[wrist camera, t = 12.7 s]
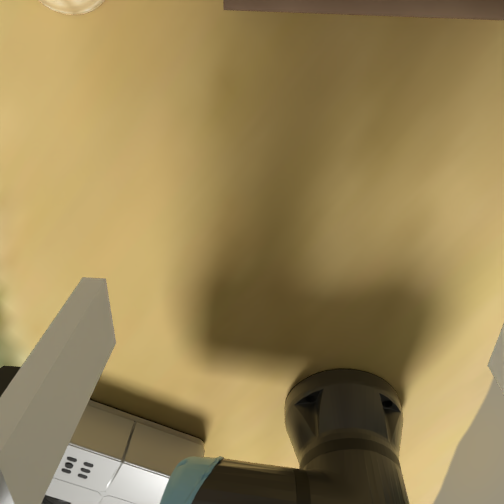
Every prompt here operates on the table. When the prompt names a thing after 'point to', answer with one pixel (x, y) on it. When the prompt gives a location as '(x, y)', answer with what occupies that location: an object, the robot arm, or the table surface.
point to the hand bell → (72, 6)
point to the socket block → (380, 7)
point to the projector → (118, 459)
